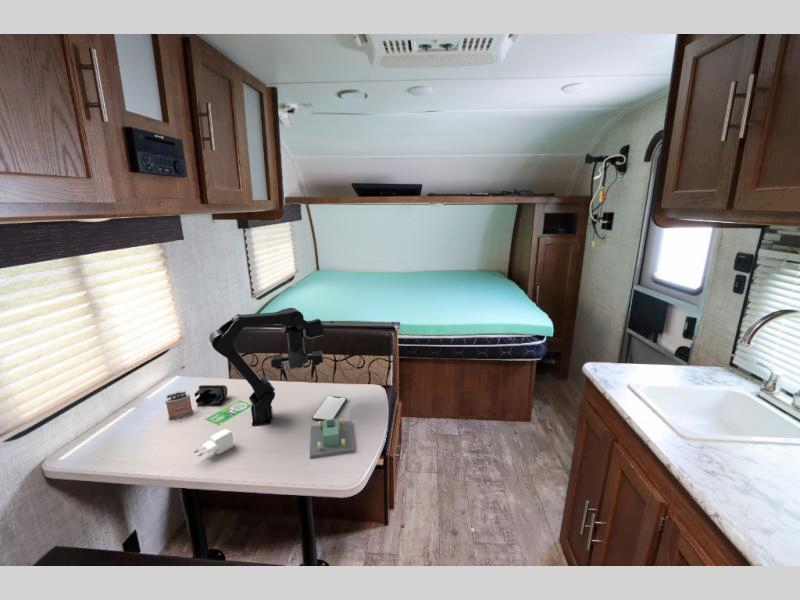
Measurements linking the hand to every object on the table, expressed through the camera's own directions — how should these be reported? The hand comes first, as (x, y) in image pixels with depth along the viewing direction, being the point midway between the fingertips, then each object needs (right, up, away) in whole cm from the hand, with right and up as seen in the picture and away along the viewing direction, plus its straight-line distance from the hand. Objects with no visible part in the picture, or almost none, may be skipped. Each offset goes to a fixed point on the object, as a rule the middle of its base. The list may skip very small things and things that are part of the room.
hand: (299, 379), depth 140 cm
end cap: (-38, -11, +8) cm, 40 cm away
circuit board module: (+15, -16, -17) cm, 28 cm away
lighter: (-45, -14, -1) cm, 47 cm away
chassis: (+15, -17, -16) cm, 28 cm away
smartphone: (+12, -13, +1) cm, 17 cm away
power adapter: (-21, -19, -22) cm, 36 cm away
